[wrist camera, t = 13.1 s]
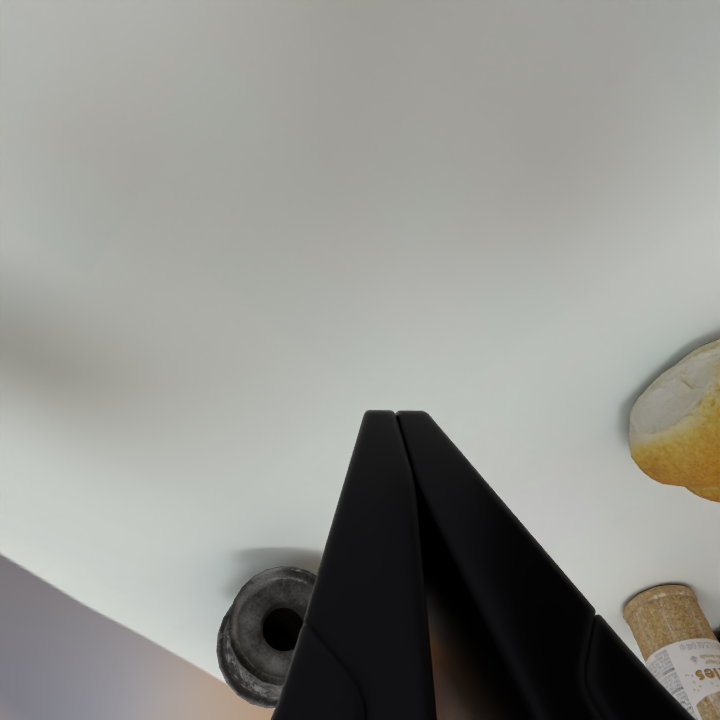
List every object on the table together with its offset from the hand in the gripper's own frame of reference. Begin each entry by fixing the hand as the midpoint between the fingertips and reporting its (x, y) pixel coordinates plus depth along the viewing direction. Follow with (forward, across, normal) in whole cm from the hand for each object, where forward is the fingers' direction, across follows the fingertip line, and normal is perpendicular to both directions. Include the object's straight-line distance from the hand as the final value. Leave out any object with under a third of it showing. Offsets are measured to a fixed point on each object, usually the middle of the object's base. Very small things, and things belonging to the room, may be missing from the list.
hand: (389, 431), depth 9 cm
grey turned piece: (+9, 0, +22) cm, 23 cm away
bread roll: (+13, -18, +11) cm, 25 cm away
